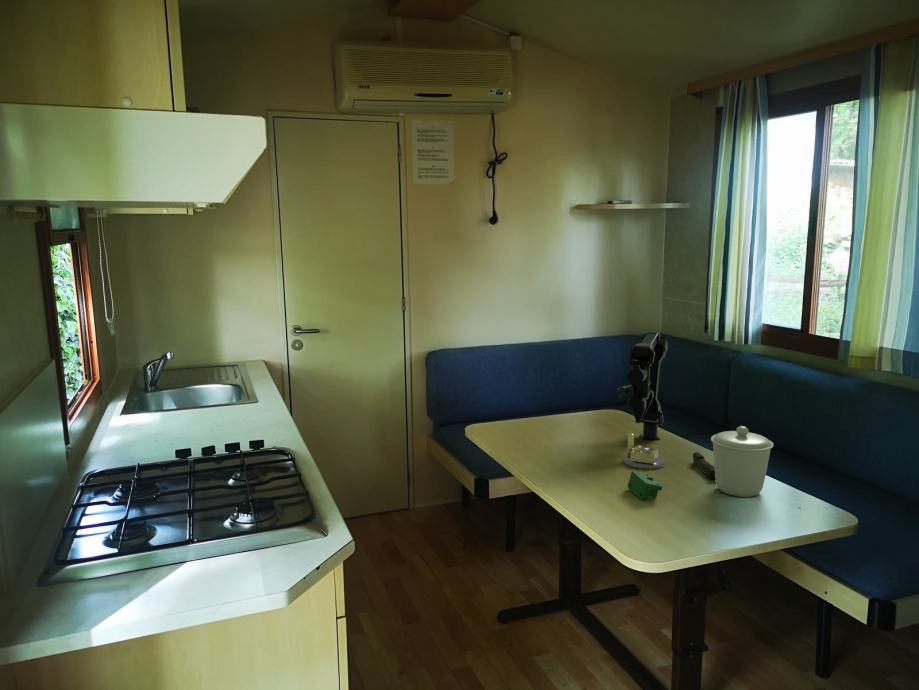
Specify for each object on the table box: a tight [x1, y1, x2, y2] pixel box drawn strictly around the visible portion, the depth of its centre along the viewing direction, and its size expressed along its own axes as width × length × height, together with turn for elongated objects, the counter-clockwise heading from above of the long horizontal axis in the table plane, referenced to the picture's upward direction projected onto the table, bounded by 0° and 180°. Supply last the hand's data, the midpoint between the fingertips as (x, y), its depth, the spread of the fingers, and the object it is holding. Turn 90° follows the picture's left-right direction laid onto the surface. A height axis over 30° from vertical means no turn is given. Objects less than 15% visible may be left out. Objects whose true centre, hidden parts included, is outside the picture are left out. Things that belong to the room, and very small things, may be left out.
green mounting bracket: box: [627, 471, 663, 501], centre depth 218 cm, size 12×6×9 cm, turn 3°
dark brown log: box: [692, 451, 716, 482], centre depth 239 cm, size 19×4×5 cm, turn 0°
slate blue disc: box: [623, 446, 666, 470], centre depth 247 cm, size 14×14×6 cm
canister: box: [710, 425, 774, 498], centre depth 219 cm, size 18×18×21 cm
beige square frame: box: [626, 432, 659, 464], centre depth 247 cm, size 8×10×8 cm
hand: (639, 420), depth 259 cm, fingers open, 8 cm apart
